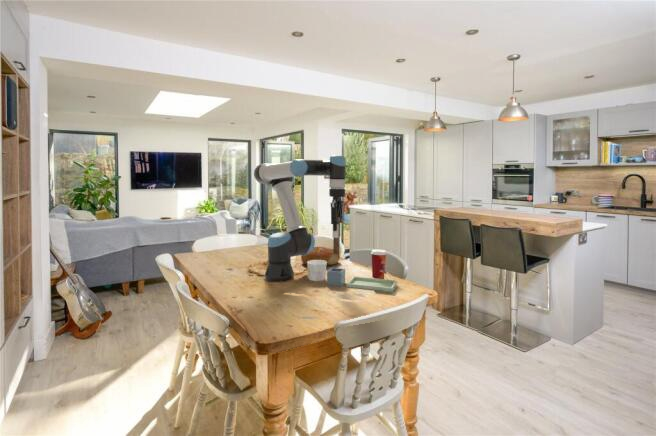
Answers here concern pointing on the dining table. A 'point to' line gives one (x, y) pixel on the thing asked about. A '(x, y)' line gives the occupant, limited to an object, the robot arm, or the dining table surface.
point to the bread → (321, 256)
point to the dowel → (337, 241)
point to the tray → (373, 284)
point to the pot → (336, 277)
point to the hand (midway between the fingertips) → (336, 236)
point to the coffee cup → (378, 263)
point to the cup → (316, 270)
